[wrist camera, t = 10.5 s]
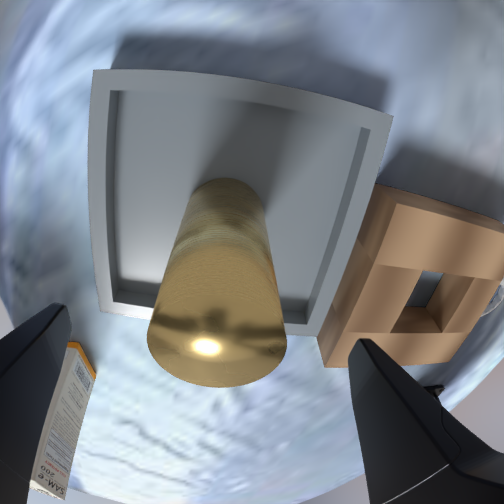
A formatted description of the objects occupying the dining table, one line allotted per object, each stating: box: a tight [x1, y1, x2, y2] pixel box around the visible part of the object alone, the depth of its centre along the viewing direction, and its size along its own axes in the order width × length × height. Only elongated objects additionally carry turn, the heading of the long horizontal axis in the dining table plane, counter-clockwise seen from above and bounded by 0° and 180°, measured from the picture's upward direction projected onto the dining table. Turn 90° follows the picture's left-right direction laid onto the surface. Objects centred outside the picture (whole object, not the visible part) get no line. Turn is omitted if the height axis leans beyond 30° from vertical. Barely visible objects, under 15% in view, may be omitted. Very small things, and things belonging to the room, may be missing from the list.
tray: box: [88, 69, 394, 337], centre depth 16 cm, size 14×14×2 cm
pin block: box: [317, 183, 504, 368], centre depth 19 cm, size 12×12×3 cm
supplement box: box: [29, 342, 96, 500], centre depth 18 cm, size 8×5×13 cm, turn 89°
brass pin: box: [147, 178, 287, 388], centre depth 12 cm, size 4×4×9 cm
